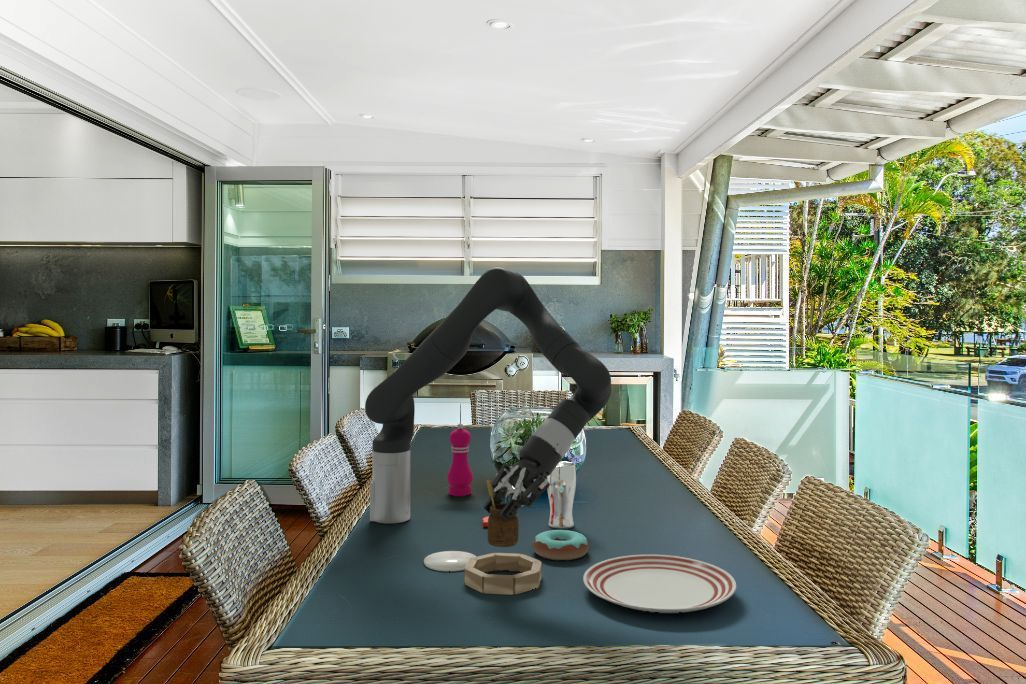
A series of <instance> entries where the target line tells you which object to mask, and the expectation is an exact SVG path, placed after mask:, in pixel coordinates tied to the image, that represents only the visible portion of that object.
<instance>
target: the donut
mask: <svg viewBox="0 0 1026 684" xmlns="http://www.w3.org/2000/svg"><path fill="white" fill-rule="evenodd" d="M534 537H535V538H534V539H533V540H532V541H533V542H532V548H533V551H534V552H535V554H537V555H538V556H539V557H541V558H542V559H543V558H544V559H546V558H547V559H546V560H550V559H551V560H552V561H559V560H566V561H573V559H574V560H578V559H580V558H582V557H584V556H585V555H586V554H587V553H588V550H589V547H590V545H589V541H588V539H587V537H586V536H585V535H583V534H582V533H579V532H577V531H573V530H568V529H552V530H550V529H549V530H547V531H546V530H545V531H543V532H540V533H538V534H537V535H535V536H534ZM577 558H578V559H577ZM551 560H550V561H551Z"/></svg>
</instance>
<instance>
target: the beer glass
mask: <svg viewBox="0 0 1026 684" xmlns="http://www.w3.org/2000/svg"><path fill="white" fill-rule="evenodd" d="M546 480H547V481H548V482H549V483H550V486H549V487H548V488H547V489H546V491H547V496H548V501H549V509H550V511H549V512H550V514H549V520H548V527H550V528H553V529H555V530H568V529H572V528H573V527H574V526H575V522H574V518H573V505H574V500H575V494H576V487H577V486H576V484H577V475H576V463H575V462H572V461H566V460H564V461H562V460H561V461H560V462H559V463H558V465H557V466H556V467H555V469H554V470H553V471H552V473H551V474H550V475H549V476H546Z"/></svg>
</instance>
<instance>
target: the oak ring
mask: <svg viewBox="0 0 1026 684" xmlns="http://www.w3.org/2000/svg"><path fill="white" fill-rule="evenodd" d="M542 567H543V566H542V560H539V559H537V558H533V557H531V556H529V555H527V554H522V553H512V552H511V553H510V552H509V553H508V552H491V553H487V554H482V555H479V556H477V557H473V558H471V559H469V560H468V562H467V564H466V566H465V568H464V570H463V571H464V573H463V576H464V583H465V584H464V586H467V587H468V588H471V589H473V590H475V591H477V592H479V593H481V594H489V595H490V594H492V595H511V596H512V595H518V594H522V593H526V592H528V591H532V589H533V590H536V589H539V588H540V586H541V582H540V581H542V575H543V574H542V570H543V569H542ZM493 570H494V571H503V570H509V571H508V572H518V573H516V574H512V575H511V574H510V575H509V574H490V573H489V571H491V572H493ZM519 571H520V572H519ZM485 572H487V573H485ZM521 572H522V573H521ZM488 573H489V574H488ZM535 588H536V589H535Z"/></svg>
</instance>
